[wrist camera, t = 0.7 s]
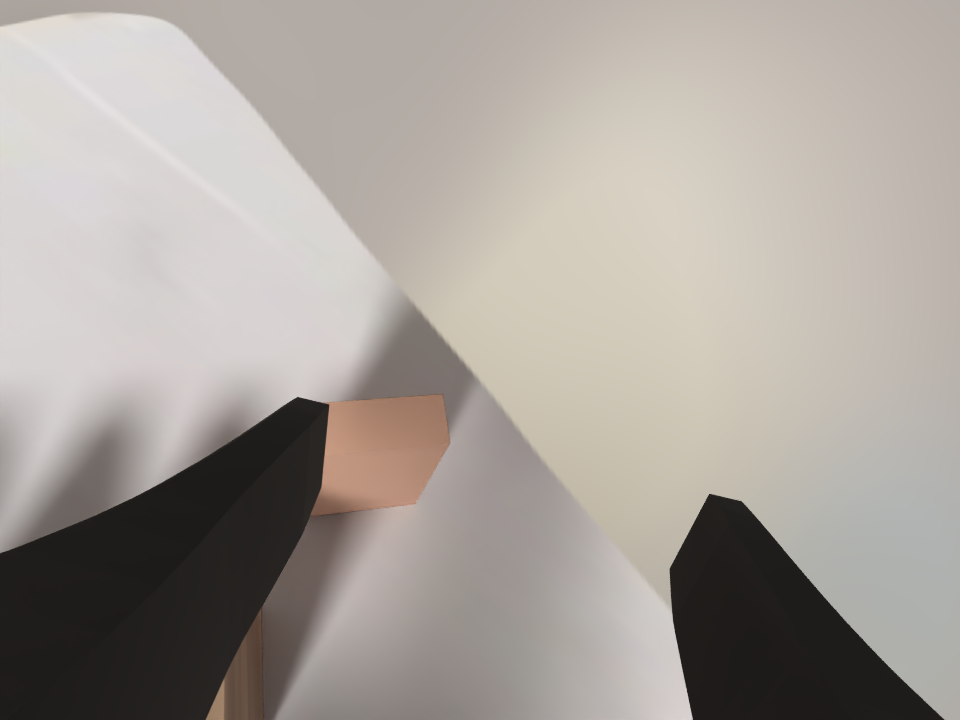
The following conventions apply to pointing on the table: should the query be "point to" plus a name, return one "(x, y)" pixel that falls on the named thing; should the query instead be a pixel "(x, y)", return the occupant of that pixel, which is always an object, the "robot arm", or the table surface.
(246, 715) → the walnut tile
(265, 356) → the table surface
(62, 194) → the table surface
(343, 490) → the terracotta tile
